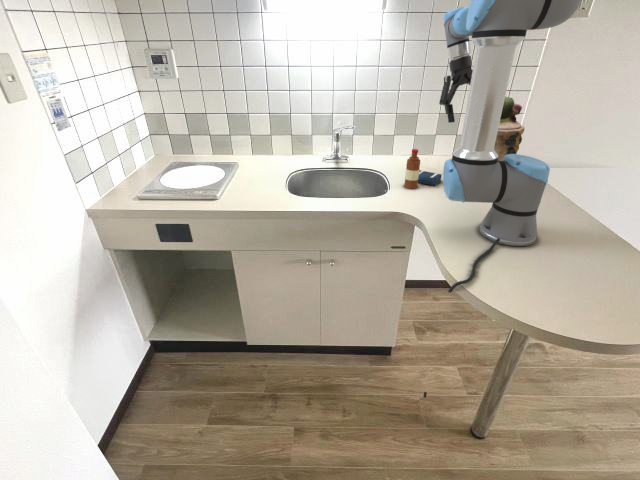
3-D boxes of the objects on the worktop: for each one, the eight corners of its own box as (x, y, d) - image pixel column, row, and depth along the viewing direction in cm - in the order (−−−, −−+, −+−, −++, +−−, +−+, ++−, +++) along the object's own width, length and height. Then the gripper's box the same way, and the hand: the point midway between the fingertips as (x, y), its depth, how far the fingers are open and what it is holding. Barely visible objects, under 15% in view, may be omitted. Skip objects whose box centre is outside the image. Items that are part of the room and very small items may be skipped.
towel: (433, 187, 139) (434, 179, 138) (410, 182, 145) (411, 174, 143) (440, 181, 145) (441, 174, 143) (417, 177, 150) (418, 169, 148)
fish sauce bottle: (413, 190, 137) (418, 152, 130) (401, 187, 140) (406, 150, 132) (419, 186, 141) (424, 149, 133) (407, 183, 143) (411, 147, 136)
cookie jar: (459, 180, 146) (475, 98, 130) (458, 162, 166) (471, 90, 151) (524, 185, 139) (549, 100, 124) (515, 167, 160) (535, 92, 144)
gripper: (481, 51, 132) (487, 109, 139) (424, 68, 128) (433, 126, 135) (496, 47, 125) (501, 107, 132) (435, 64, 121) (444, 126, 128)
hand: (466, 117), depth 134 cm, fingers open, 13 cm apart
